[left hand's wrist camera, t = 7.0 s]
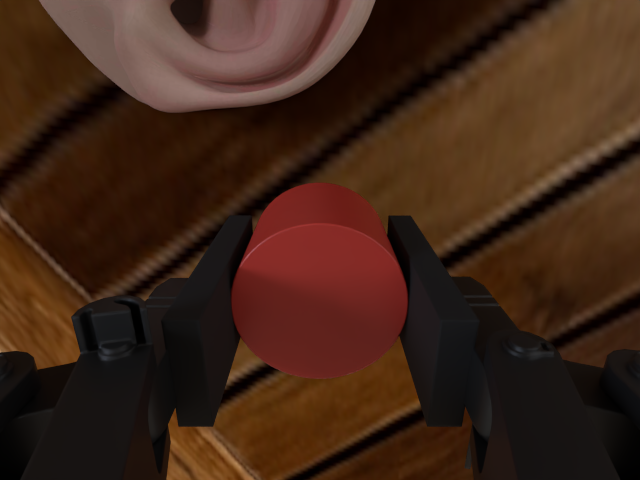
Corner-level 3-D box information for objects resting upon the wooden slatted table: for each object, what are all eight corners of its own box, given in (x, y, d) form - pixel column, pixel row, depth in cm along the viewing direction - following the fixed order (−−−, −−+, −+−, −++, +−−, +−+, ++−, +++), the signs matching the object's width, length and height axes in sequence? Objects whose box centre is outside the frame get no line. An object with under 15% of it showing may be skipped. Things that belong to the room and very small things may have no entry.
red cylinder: (233, 271, 15) (203, 339, 11) (288, 158, 13) (276, 190, 10) (345, 322, 16) (354, 401, 12) (410, 220, 14) (443, 272, 10)
